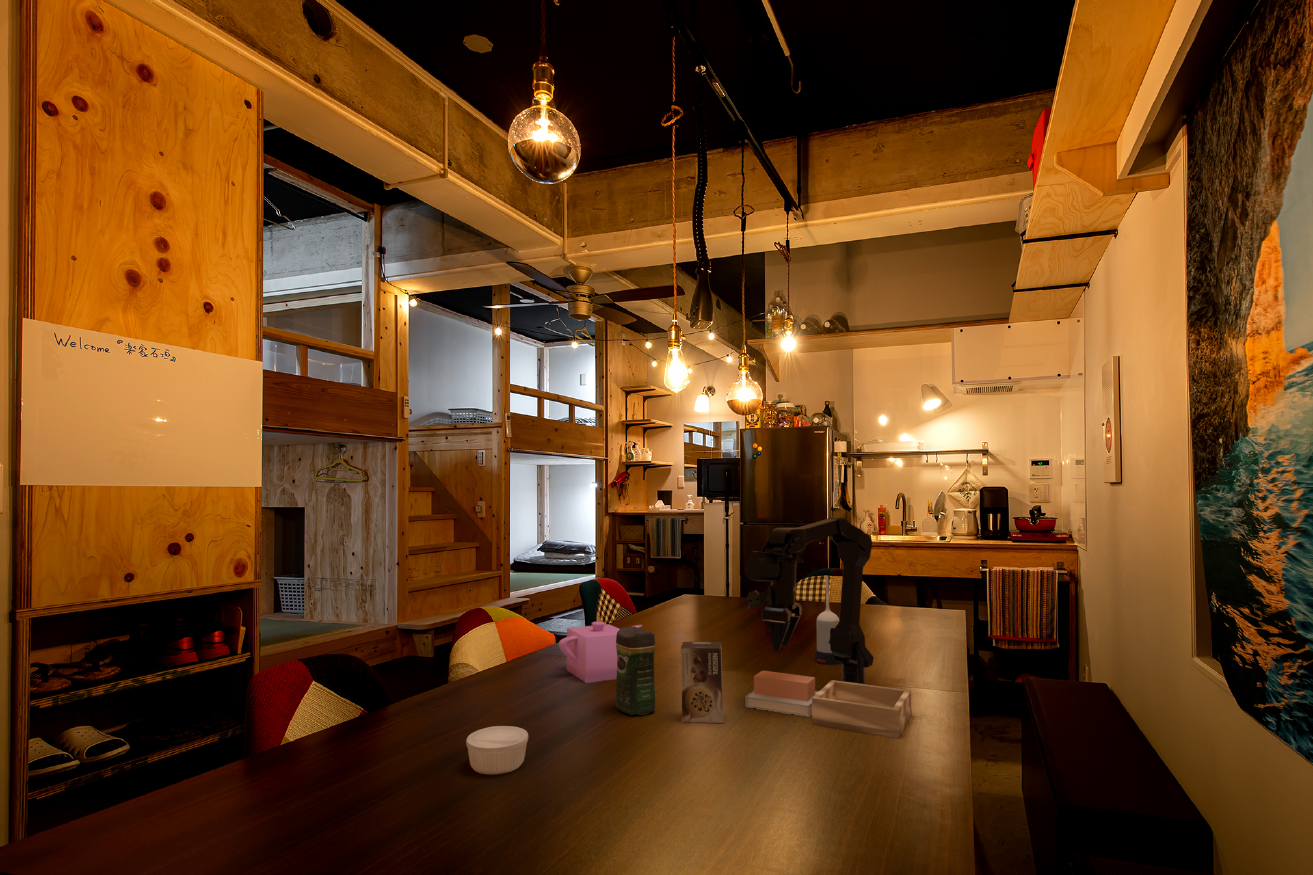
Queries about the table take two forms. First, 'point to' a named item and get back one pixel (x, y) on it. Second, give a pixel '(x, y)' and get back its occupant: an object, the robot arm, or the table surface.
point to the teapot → (591, 652)
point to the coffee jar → (635, 671)
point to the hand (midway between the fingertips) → (780, 648)
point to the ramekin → (497, 749)
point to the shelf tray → (862, 708)
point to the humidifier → (825, 633)
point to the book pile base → (778, 700)
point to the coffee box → (701, 682)
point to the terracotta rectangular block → (784, 685)
